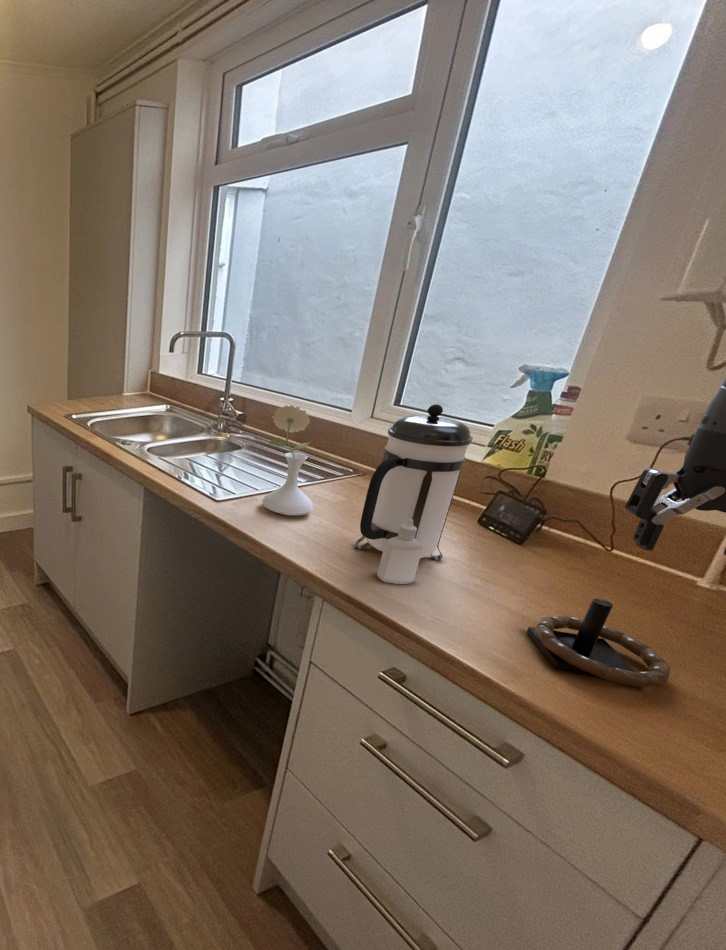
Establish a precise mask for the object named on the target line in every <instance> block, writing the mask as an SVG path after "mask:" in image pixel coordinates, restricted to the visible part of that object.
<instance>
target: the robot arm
mask: <svg viewBox="0 0 726 950" xmlns="http://www.w3.org/2000/svg"><path fill="white" fill-rule="evenodd" d="M683 460H684V461H683V465H682V466H681V468H679V470H677V471H676V472H668V471H660V470H658V469H656V468H654V467H647V468H645V469H643V471H642V473H641V474H640V477H639V478H638V481H637V482H636V484H635V486H634V487H633V488H634V489H633V490H632V492H631V494H630V495H629V498H628V499H627V501H626V503H625V505H624V509H625V510H626V511H628V512H629V513H631V515H634V516H635V517H637V518H639V519H640V520H639V523H638V525H637V527H636V528H635V531H634V534H633V536H632V540H633V542H635V544H636V546H637V547H638V548H639V549H641V550H643V551H645V550H646V551H653V550H654V548H655V546H656V544H657V542H658V540H659V538H660V536H661V534H662V531H663V529H664V528H665V525H664V523H666V522H668V521H669V520H671V519H673V518H674V517H676V516H679V515H681V516H682V515H685V514H687V513H689V512H691V511H692V510H696V511H702V512H711V511H718V512H722V513H725V514H726V375H725V376H724V378H723V380H722V383H721V385H720V386H719V388H718V391H717V392H716V393H715V395H714V396H713V397H712V399H711V400H710V402H709V404H708V405H707V407H706V409H705V412H704V414H703V416H702V417H701V419H700V422H699V424H698V427H697V429H696V431H695V433H694V436H693V438H692V440H691V442H690V444H689V446H688V448H687V450H686V453H685V455H684V459H683ZM671 484H673V486H674V488H673V489H671V490H669V491H667V492H666V493H664V494H663V495H661V496H660V494H661V492H662V491H663V490H665V489H666V490H667V489H669V486H670V485H671ZM659 496H660V497H659ZM680 500H681V501H680ZM678 501H679V502H678ZM723 555H724V556H726V547H725V548H724V550H723Z"/></svg>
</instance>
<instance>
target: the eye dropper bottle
mask: <svg viewBox="0 0 726 950" xmlns="http://www.w3.org/2000/svg"><path fill="white" fill-rule="evenodd" d="M416 531H417V528H416V527H415V526H413V520H412V519H408V521H407V523H406V524H403V525H401V527H400V530H399V534H398V536H397V537H393V538H390V539H388V540H387V541H386V543H385V546H384V550H383V552H382V553H381V558H380V560H379V561H380V562H379V565H378V570H377V573H376V575H377V577H378V578H379V579H380V580H381V581H382V582H384V583H388V584H393V585H394V584H395V585H408V584H411V583H414V580H415V577H416V573H417V570H418V566H419V563H420V560H421V558H420V556H421V553H422V549H423V546H422V544H421V543H420V542H419V541H418V540H416V539H414V538H415V534H416Z"/></svg>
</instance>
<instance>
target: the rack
mask: <svg viewBox="0 0 726 950" xmlns="http://www.w3.org/2000/svg"><path fill="white" fill-rule="evenodd" d="M613 606H614V604H613V603H612V602H610V601H608V600H606V599H603V598H602V599H601V598H593V599H592V600H591V602H590V605H589V607H588V609H587V611H586V614H585V616H584V618H583V623H582V625H581V627H580V629H579V631H577V634H576V633H573V632H565V631H558V630H553V634H554V635H555V636H556V638H557V639H558V640H559V641H560V642H562V643H563V644H565V645H566V646H568V647H569V648H571V649H572V650H574V651H576V652H577V653H579V654H581V655H583V656H585V657H588V658H590V659H593V660H595V661H597V662H600V663H602V664H605V665H607V666H610V667H615V668H619V669H624V670H628V671H632V672H636V671H635V669H634V668H633V667H632V666H631V665H630V664H629V662H627V661H626V660H625V659H624V658H623V657H622V656H621V654H619V653H618V652H617V651H616V650H615V648H613V647H612V645H611V644H609V643H608V641H607V640H606V639H604V638H601V637H599V635H600V632H601V630H602V628H603V626H605V623H606V621H607V619H608V617H609V616H610V613H611V611H612V609H613ZM535 627H536V626H528V627H527V630H526V635H527V636H528V637H529V639H530V640H531V641H532V642H533V644H534V645H535V646H536V648H537V649H538V650H539V652H540V653H541V654H542V655H543V657H544V658H545V660H546V661H547V662H548V663H549V664H550V666H551V667H552V669H553V670H557V671H563V672H568V673H574V674H578V675H585V676H589V677H596V678H601V677H598V676H596V675H594V674H591V673H589V672H587V671H584V670H582V669H580V668H577V667H575V666H573V665H571V664H569V663H567V662H566V661H564V660H563V659H562V658H560V657H559V656H557V655H556V654H554V653H553V652H551V651H550V650H548V649H547V648H546V647H545V646H544V645H543V643H542V642H541V640H540V639H539V638H538V636H537V635H536V633H535ZM601 679H602V678H601Z"/></svg>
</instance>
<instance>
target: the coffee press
mask: <svg viewBox="0 0 726 950" xmlns="http://www.w3.org/2000/svg"><path fill="white" fill-rule="evenodd" d="M426 410H427V413H428V415H424V414H420V415H416V414H415V415H408V416H407V415H406V416H403V417H401V418H397V420H396V421H394V422H393V424H392V426H389V428H388V429H387V434H388V435H387V436H388V440H387V443H386V446H385V447H384V450H383V454H382V460H381V463H380V464H379V465H378V466H377V467H376V469H375V471H374V472H373V474H372V476H371V478H370V481H369V485H368V489H367V492H366V496H365V500H364V504H363V509H362V512H361V513H362V514H361V517H360V522H359V523H360V524H359V532H360V534H361V535H362V536H361V537H360V538H358V539H357V540H356V541H355V547H356V548H357V549H358V550H364V549H365V548H367V547H370V546H371V547H373V548H374V549H376V550H378V551H380V552H382V553H383V550H384V546H385V543H386V541H387V540H388V539H390V538H393V537H397V536H398V534H399V530H400V527H401V525H403V524H406V523H407V521H408V519H412V520H413V526H415V527H416V528H417V531H416V534H415V538H414V539H416V540H418V541H419V542H420V543H421V544H422V546H423V549H422V553H421V556H420V559H423V558H428V557H430V556H431V557H432V558H433V559H434V560H436V561H440V560H442V559H443V554H442V552H441V550H440V548H439V546H440V545H439V544H440V541H441V538H442V534H443V531H444V528H445V525H446V522H447V518H448V514H449V511H450V508H451V504H452V502H453V498H454V495H455V492H456V489H457V485H458V481H459V478H460V475H461V470H463V467H464V464H465V461H466V452H467V449H468V446H469V445H470V444H471V443H472V442H473V436H472V435H471V431H470V429H469V427H468V426H467V425H466V424H465V423H463V422H461V421H459V420H456V419H453V418H450V417H449V418H448V417H443V416H440V415H442V413H444V408H443V407H442V405H440V404H439V403H438V404H437V403H436V404H435V403H434V404H431V405H430V406H429V407H428V408H427V409H426ZM364 540H366V541H367V542H366V543H364V544H362V545H359V544H360V543H361V542H363V541H364ZM436 550H438V552H439V554H438V555H437V556H436V555H433V554H434V553H435V552H436Z"/></svg>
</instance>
